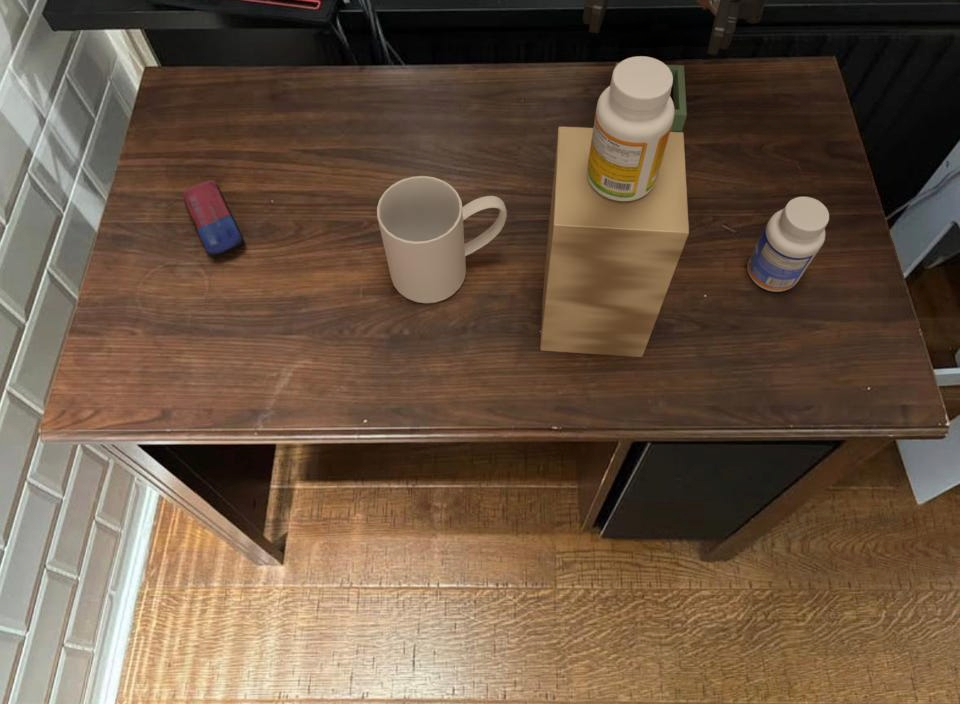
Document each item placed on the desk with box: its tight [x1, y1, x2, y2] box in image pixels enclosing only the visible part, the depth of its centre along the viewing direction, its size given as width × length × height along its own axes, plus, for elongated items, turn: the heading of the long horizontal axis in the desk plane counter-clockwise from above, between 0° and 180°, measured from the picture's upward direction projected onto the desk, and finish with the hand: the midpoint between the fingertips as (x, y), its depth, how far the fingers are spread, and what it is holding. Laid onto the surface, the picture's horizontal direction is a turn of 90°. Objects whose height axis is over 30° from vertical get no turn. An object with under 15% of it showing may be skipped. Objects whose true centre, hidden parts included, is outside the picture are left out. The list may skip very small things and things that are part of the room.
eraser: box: [182, 180, 246, 260], centre depth 80 cm, size 11×4×2 cm, turn 28°
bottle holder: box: [614, 62, 688, 132], centre depth 87 cm, size 8×8×3 cm
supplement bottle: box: [587, 55, 675, 201], centre depth 53 cm, size 5×5×10 cm
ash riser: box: [539, 126, 690, 358], centre depth 66 cm, size 10×10×20 cm
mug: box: [376, 175, 508, 304], centre depth 73 cm, size 12×8×10 cm, turn 102°
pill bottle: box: [746, 196, 830, 293], centre depth 72 cm, size 5×5×10 cm
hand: (654, 33), depth 52 cm, fingers open, 8 cm apart
